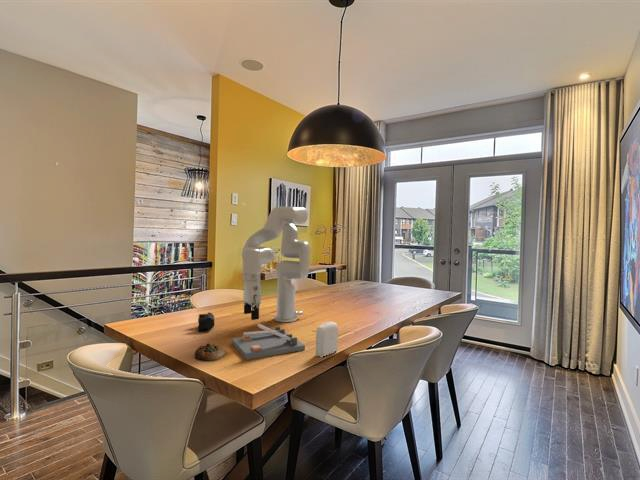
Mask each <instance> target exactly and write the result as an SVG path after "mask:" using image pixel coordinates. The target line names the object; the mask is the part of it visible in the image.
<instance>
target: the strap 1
mask: <svg viewBox="0 0 640 480" xmlns="http://www.w3.org/2000/svg"><path fill="white" fill-rule="evenodd" d="M273 330H274V331H277V332H279V330H281V328H280V329H277V330H275V329H273ZM242 335H243V337H250V336H261V335H273V333H270V332H268V331H266V330H257V331H244V332H242Z"/></svg>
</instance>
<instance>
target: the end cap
mask: <svg viewBox="0 0 640 480" xmlns="http://www.w3.org/2000/svg"><path fill="white" fill-rule="evenodd" d="M197 321H198V322H197V323H198V327H197V332H198V333H205V332H207V331H208V332H209V331H211V330H212V329H214V327H215V315H214V314H213V313H212V312H207V313H201V314H198V320H197Z"/></svg>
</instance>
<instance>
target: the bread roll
mask: <svg viewBox="0 0 640 480" xmlns="http://www.w3.org/2000/svg"><path fill="white" fill-rule="evenodd" d="M224 355H225V350H224V349H223V347H221V346H218V345H215V344H213V343H212V344H211V343H207V344H205V345H202V344H201V345H200V346H199V347H198V348H197V349H196V351H195V352H194V358H195V359H196V360H197V361H198V360H199V361H202V362H203V361H205V362H206V361H210V362H212V361H217V360H221V359H222V358H223V356H224Z"/></svg>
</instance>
